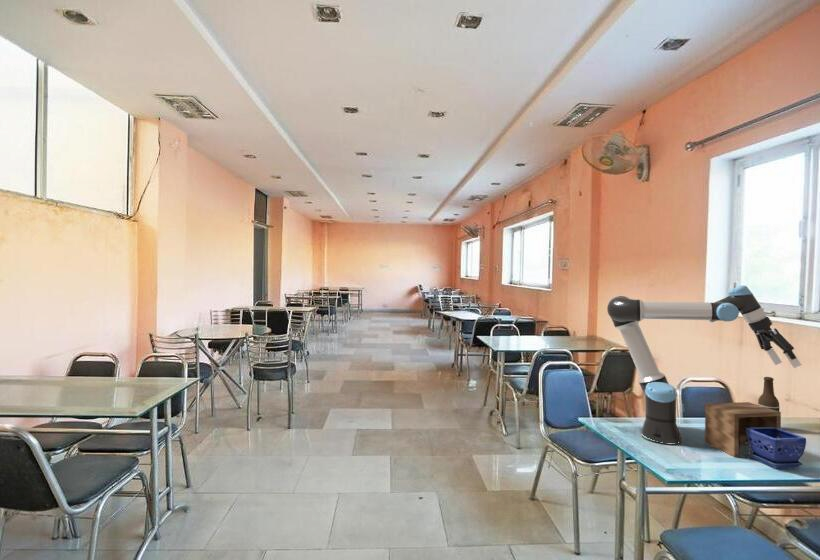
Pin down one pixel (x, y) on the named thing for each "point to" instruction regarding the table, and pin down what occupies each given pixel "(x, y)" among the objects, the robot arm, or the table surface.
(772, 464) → the flower pot
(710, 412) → the shelf
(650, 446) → the table surface
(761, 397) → the beer bottle
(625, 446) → the table surface
